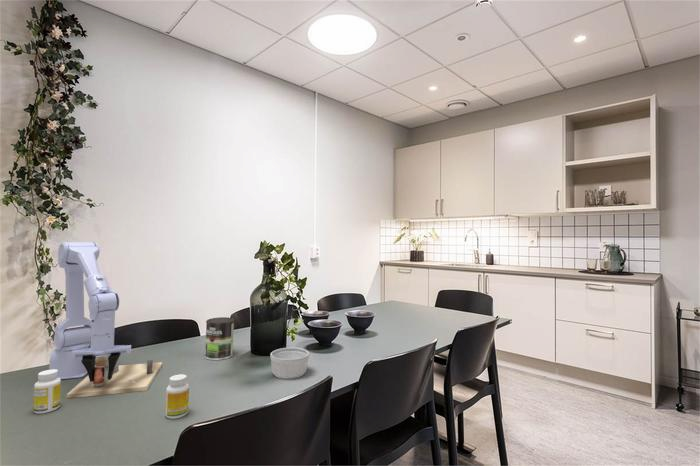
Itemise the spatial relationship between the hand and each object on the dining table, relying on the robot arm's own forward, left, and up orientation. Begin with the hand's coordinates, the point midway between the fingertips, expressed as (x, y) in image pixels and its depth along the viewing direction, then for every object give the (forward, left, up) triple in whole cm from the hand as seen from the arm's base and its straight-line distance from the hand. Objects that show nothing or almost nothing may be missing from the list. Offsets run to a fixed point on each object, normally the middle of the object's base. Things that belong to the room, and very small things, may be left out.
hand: (101, 379), depth 104 cm
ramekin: (+56, 0, -4) cm, 56 cm away
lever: (-1, +7, -2) cm, 7 cm away
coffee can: (+32, +25, -4) cm, 41 cm away
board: (+3, +8, -3) cm, 9 cm away
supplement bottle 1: (-9, -9, -4) cm, 13 cm away
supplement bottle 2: (+24, -21, -4) cm, 32 cm away
